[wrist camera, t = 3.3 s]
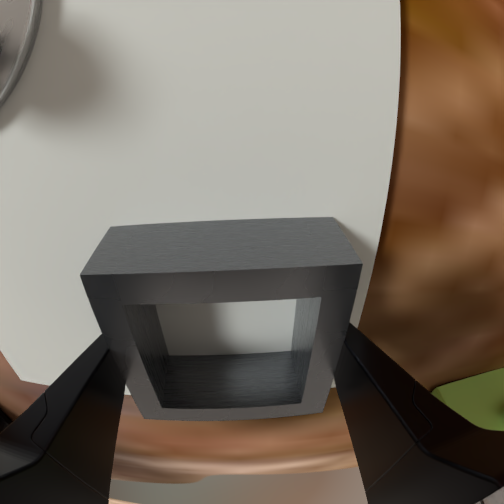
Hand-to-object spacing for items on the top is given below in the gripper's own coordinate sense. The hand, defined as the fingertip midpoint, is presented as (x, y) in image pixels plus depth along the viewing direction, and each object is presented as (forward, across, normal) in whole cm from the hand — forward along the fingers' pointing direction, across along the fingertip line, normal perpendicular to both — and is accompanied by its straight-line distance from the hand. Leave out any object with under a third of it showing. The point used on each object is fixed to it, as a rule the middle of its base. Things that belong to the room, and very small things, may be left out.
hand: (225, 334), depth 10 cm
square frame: (+1, 0, 0) cm, 1 cm away
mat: (+2, +4, -4) cm, 6 cm away
